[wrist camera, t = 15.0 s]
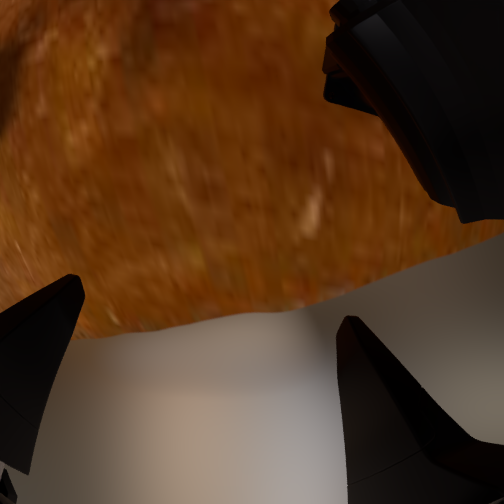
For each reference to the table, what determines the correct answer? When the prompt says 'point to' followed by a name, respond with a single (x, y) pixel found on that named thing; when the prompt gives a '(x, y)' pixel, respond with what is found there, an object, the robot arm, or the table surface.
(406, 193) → the table surface
